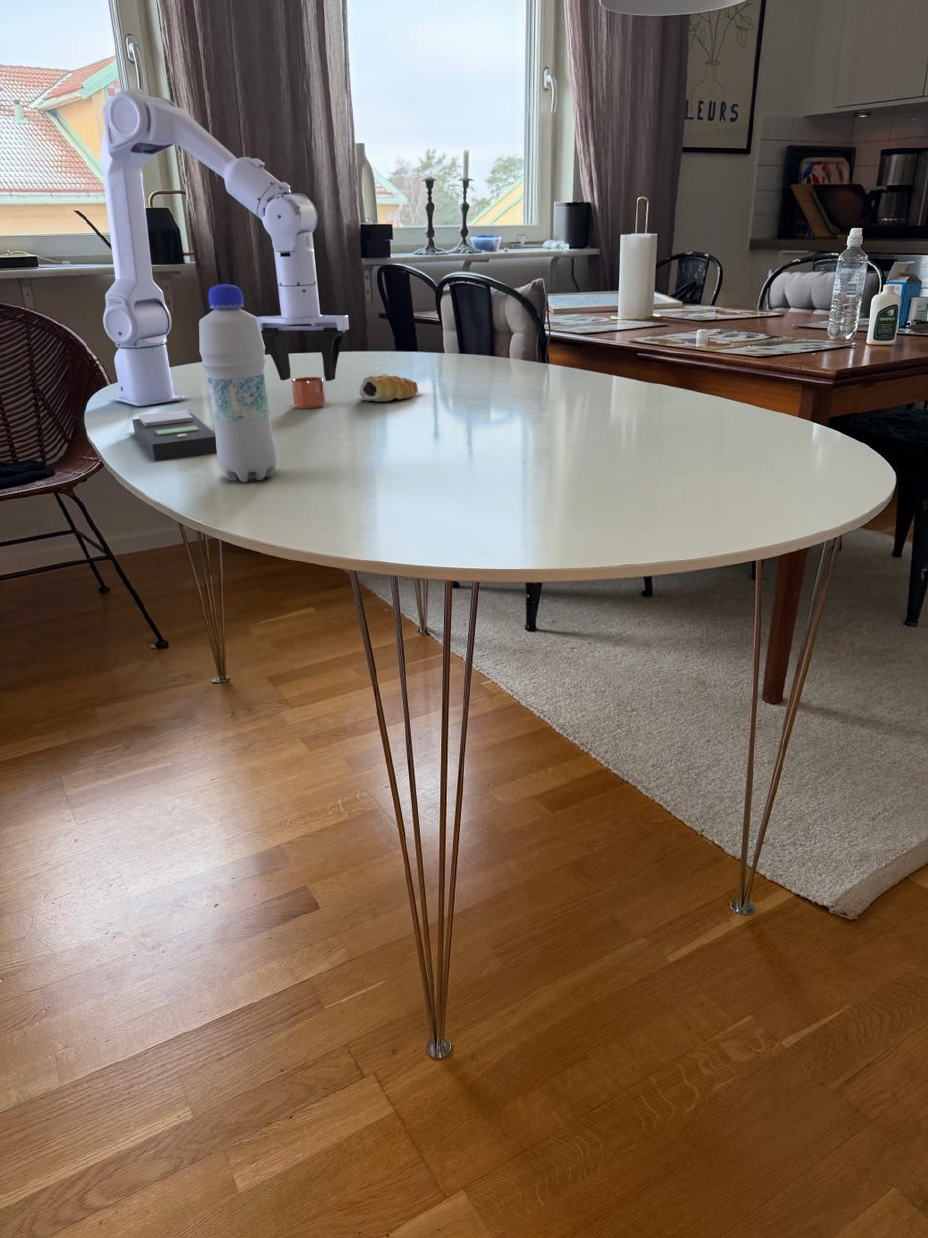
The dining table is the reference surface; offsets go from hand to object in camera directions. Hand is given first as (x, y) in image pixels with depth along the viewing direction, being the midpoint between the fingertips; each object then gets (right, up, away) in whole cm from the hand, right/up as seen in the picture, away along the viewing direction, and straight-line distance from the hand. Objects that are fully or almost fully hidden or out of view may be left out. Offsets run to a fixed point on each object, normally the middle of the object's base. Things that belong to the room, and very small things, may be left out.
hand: (307, 379), depth 131 cm
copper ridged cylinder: (0, -4, +2) cm, 4 cm away
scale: (-14, -14, -19) cm, 27 cm away
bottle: (0, -21, -36) cm, 42 cm away
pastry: (+12, -2, +6) cm, 13 cm away
